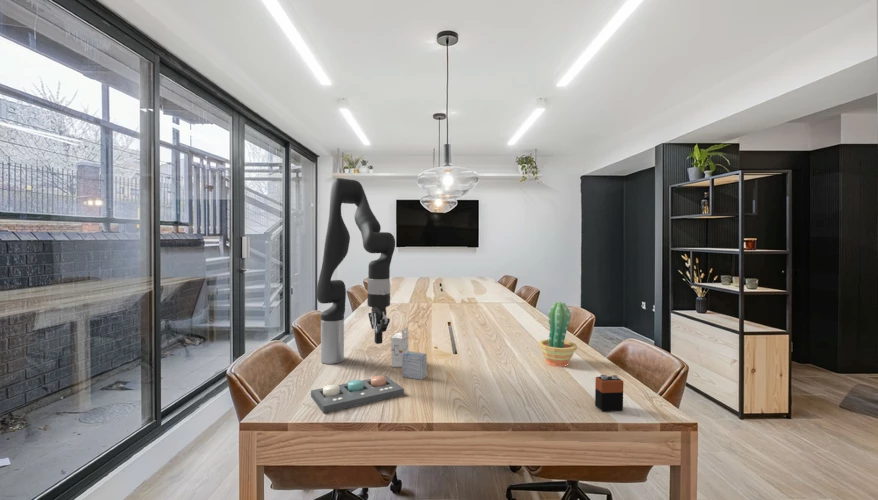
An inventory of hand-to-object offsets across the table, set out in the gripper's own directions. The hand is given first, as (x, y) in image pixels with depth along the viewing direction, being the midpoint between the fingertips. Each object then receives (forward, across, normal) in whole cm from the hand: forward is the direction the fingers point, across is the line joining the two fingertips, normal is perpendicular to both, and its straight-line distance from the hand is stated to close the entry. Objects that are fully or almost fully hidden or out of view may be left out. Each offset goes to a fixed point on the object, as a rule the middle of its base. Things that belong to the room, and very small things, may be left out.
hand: (378, 343), depth 131 cm
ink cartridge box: (+16, -20, +18) cm, 31 cm away
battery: (+15, +50, +53) cm, 75 cm away
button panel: (+15, +2, -8) cm, 17 cm away
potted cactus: (+16, +12, +74) cm, 77 cm away
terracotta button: (+15, 0, 0) cm, 15 cm away
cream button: (+15, 0, -16) cm, 22 cm away
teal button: (+15, 0, -8) cm, 17 cm away
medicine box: (+16, -4, +16) cm, 23 cm away
